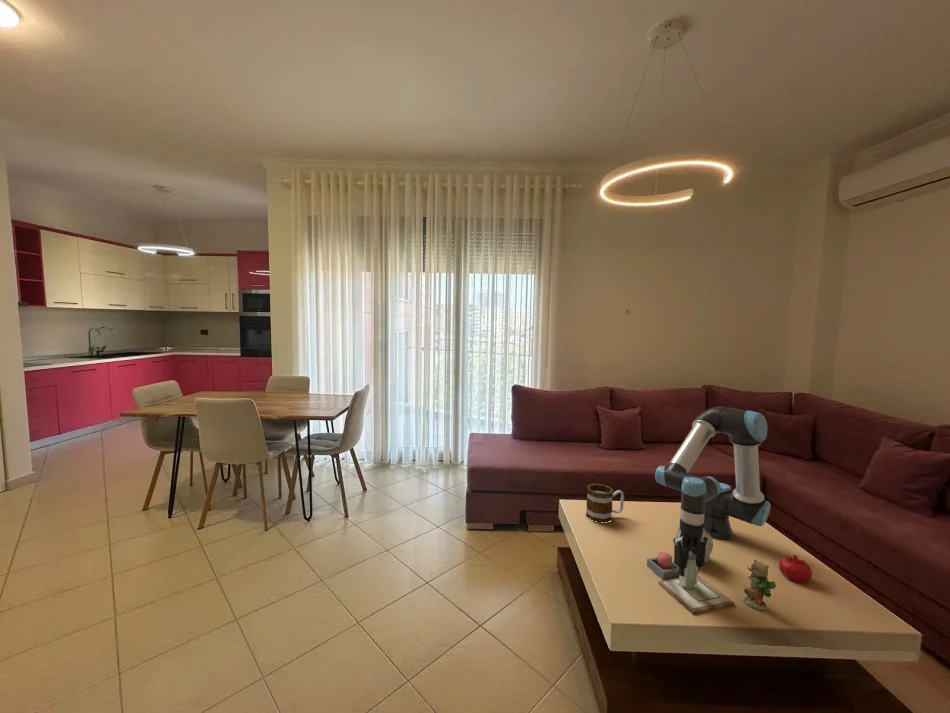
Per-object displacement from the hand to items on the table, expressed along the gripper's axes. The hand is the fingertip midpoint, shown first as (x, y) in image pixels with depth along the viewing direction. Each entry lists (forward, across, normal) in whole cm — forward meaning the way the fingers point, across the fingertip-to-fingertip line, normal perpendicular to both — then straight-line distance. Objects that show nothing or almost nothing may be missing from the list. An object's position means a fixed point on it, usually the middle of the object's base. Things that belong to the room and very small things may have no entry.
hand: (687, 582), depth 140 cm
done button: (+1, 0, -11) cm, 12 cm away
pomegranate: (+3, -48, +4) cm, 48 cm away
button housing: (+3, 0, -12) cm, 12 cm away
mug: (+3, -3, -56) cm, 57 cm away
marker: (+1, 0, 0) cm, 1 cm away
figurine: (+3, -18, +12) cm, 22 cm away
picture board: (+3, -1, +2) cm, 4 cm away
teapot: (+3, -18, -14) cm, 23 cm away
